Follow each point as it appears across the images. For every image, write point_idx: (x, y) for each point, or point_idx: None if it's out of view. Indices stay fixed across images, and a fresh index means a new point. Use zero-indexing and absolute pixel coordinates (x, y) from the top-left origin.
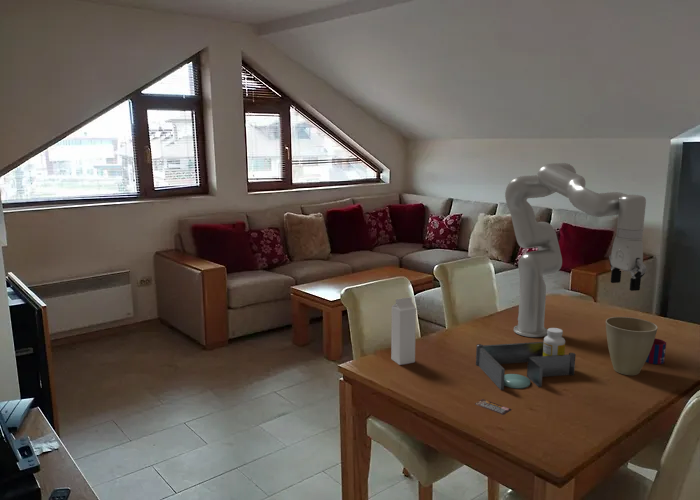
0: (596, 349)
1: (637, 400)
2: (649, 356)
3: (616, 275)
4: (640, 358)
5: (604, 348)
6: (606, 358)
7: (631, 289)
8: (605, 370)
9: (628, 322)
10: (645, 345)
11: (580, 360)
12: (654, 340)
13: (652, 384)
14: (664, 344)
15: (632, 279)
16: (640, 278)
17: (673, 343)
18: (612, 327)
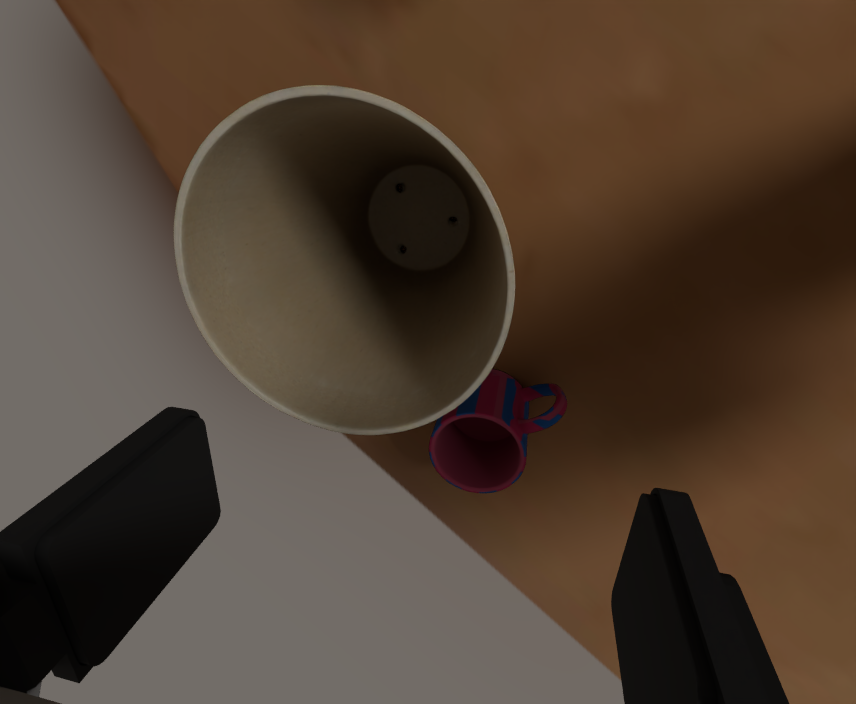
0: (702, 269)
1: (148, 44)
2: None
3: (650, 662)
4: (303, 232)
5: (693, 317)
6: (577, 234)
7: (165, 422)
8: (449, 122)
9: (475, 362)
10: (248, 256)
11: (607, 69)
12: (509, 474)
13: None
14: (431, 460)
15: (16, 535)
16: (60, 663)
17: (607, 593)
18: (300, 89)
